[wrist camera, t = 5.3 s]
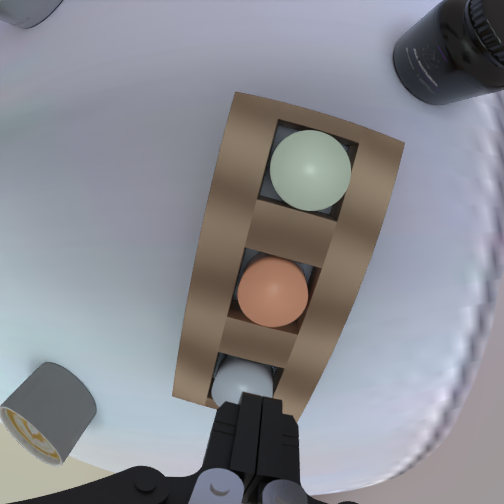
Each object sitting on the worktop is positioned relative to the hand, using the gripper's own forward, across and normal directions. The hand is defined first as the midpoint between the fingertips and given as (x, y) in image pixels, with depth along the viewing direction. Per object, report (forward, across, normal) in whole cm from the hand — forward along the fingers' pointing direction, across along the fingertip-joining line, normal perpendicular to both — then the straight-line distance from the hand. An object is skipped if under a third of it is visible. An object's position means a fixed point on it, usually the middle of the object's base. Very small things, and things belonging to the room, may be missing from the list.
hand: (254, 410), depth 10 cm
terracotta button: (+15, 0, 0) cm, 15 cm away
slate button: (+13, 0, +9) cm, 16 cm away
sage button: (+14, 0, -9) cm, 16 cm away
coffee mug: (+15, +22, +25) cm, 37 cm away
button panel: (+15, 0, 0) cm, 15 cm away
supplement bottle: (+15, -8, -21) cm, 27 cm away
